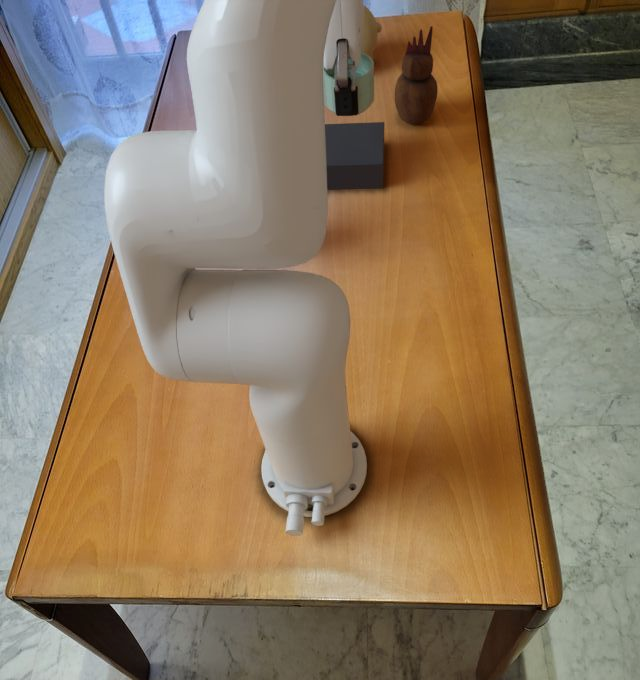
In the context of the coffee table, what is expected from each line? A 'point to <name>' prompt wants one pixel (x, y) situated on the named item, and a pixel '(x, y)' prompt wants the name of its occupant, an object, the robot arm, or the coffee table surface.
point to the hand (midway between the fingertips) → (348, 96)
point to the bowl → (362, 80)
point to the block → (354, 155)
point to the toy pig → (369, 33)
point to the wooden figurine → (416, 83)
